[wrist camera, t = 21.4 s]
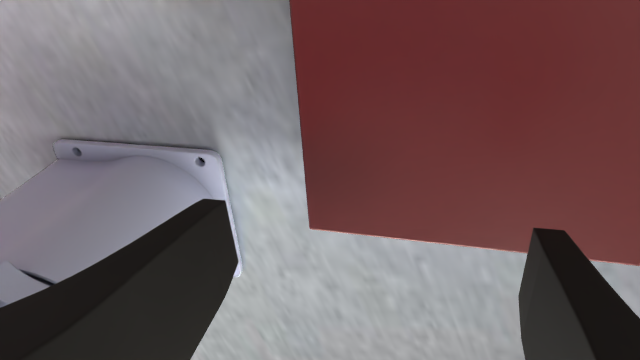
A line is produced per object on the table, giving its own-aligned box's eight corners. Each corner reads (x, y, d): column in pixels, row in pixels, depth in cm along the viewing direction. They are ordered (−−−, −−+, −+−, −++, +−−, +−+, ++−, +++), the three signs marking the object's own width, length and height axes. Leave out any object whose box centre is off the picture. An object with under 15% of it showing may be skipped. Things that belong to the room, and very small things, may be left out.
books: (335, 146, 21) (297, 229, 16) (324, -102, 16) (263, -92, 11) (604, 164, 18) (657, 269, 13) (693, -125, 13) (832, -127, 8)
